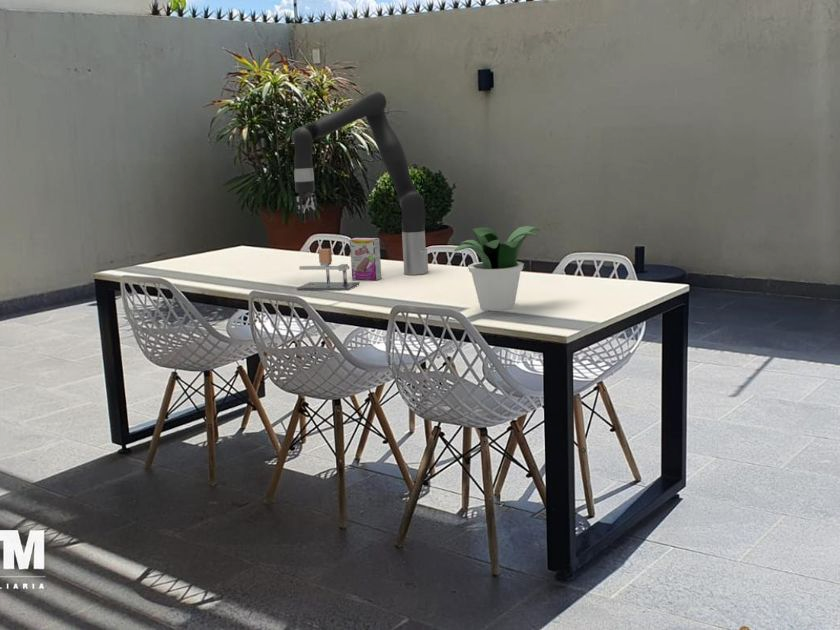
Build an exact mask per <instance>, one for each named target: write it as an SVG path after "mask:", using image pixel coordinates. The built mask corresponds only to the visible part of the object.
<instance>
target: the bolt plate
mask: <svg viewBox="0 0 840 630" xmlns="http://www.w3.org/2000/svg"><path fill="white" fill-rule="evenodd" d="M298 269H299V270H301V271H302V270H303V271H307V270H312V271H313V270H315V271H316V270H322V271H323V270H324V271H326V270H329V271H330V270H332V271H334V270H337V271H339V272H342V278H343V279H342V280H343V281H338V282H337V281H336V282H335V281H330V284H327V281H325V282H324V281H312V282H311V281H309V282H307V283H305V284H302V285H300V286H298V287H296V289H297V291H341V290H349V291H350V289H351V288H353V287H354V288H356V287H358V286H360V285H361V284H360V282H358V281H357V282H356V281H352V282H351V281H348V275H347V273H348V272H347V270H350V265H348V263H341V264H339V265H329V266H320V265H299V267H298ZM359 284H360V285H359ZM357 285H358V286H357ZM355 286H356V287H355ZM354 288H353V289H354ZM351 290H352V289H351Z"/></svg>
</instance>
